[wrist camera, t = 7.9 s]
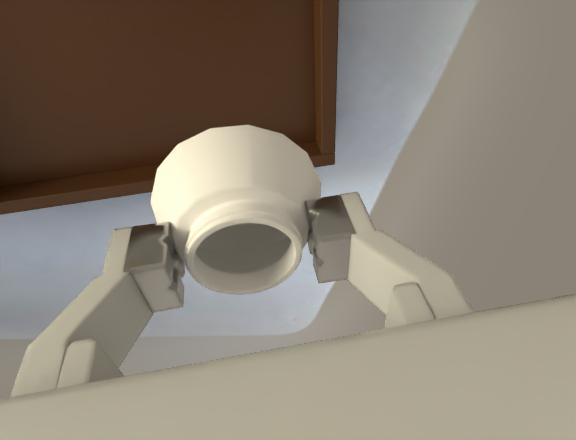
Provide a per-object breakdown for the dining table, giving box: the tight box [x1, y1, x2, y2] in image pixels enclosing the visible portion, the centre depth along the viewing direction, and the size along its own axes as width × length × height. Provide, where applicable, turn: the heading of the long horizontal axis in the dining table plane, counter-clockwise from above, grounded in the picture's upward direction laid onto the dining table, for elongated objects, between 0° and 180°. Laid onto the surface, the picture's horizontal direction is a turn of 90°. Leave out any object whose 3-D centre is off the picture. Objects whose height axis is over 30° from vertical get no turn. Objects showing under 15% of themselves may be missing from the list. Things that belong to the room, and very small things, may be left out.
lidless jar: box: [151, 125, 321, 294], centre depth 11 cm, size 5×3×5 cm
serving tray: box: [0, 0, 339, 215], centre depth 18 cm, size 14×20×2 cm
